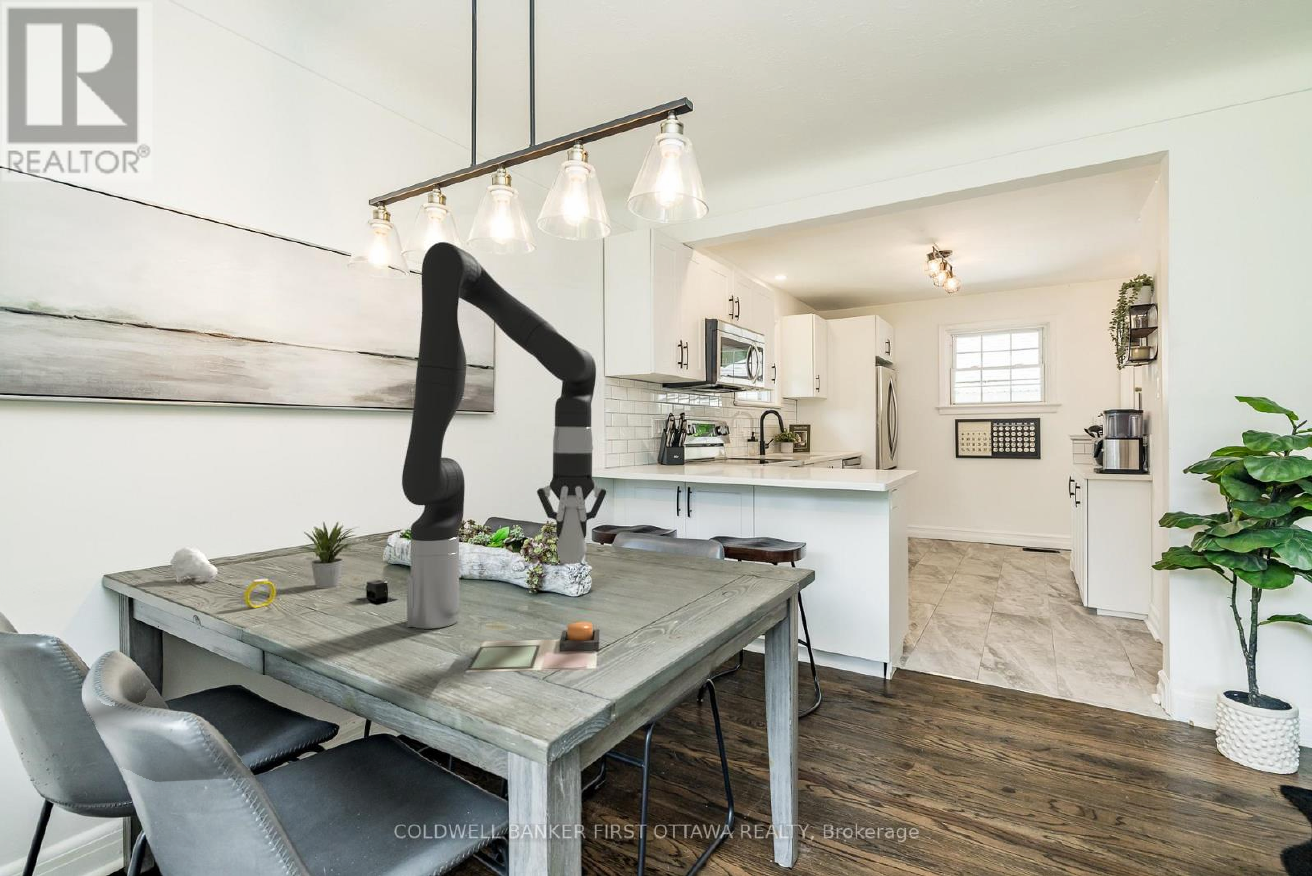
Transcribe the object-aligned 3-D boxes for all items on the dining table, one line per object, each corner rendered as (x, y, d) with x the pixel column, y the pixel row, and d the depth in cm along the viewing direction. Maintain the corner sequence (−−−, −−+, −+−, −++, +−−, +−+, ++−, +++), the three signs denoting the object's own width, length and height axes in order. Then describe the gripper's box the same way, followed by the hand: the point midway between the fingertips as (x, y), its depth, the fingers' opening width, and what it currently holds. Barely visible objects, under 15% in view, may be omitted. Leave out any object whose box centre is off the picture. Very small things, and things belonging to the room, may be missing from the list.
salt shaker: (580, 565, 112) (581, 496, 112) (551, 564, 113) (552, 495, 113) (590, 559, 118) (591, 493, 118) (562, 557, 119) (563, 492, 119)
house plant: (353, 591, 146) (353, 524, 146) (288, 595, 142) (288, 526, 142) (364, 578, 159) (364, 516, 159) (305, 581, 155) (305, 518, 155)
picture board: (457, 683, 91) (457, 665, 91) (479, 646, 107) (479, 631, 107) (602, 678, 93) (602, 661, 93) (603, 643, 109) (603, 628, 109)
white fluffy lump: (193, 544, 161) (227, 550, 158) (191, 575, 161) (225, 582, 158) (168, 548, 155) (203, 555, 152) (166, 581, 155) (200, 588, 152)
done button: (566, 641, 102) (566, 630, 102) (568, 633, 107) (568, 622, 107) (592, 641, 103) (592, 629, 103) (593, 632, 107) (593, 621, 107)
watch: (269, 603, 136) (271, 577, 136) (277, 605, 135) (278, 578, 135) (241, 608, 131) (243, 581, 131) (248, 610, 129) (250, 582, 130)
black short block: (406, 602, 138) (406, 582, 138) (376, 609, 132) (376, 589, 132) (376, 594, 145) (376, 575, 145) (346, 601, 139) (346, 581, 139)
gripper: (533, 450, 111) (532, 544, 111) (609, 451, 112) (608, 543, 112) (538, 449, 119) (536, 537, 119) (609, 450, 120) (608, 537, 120)
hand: (571, 539), depth 116 cm, fingers closed on salt shaker, 3 cm apart
